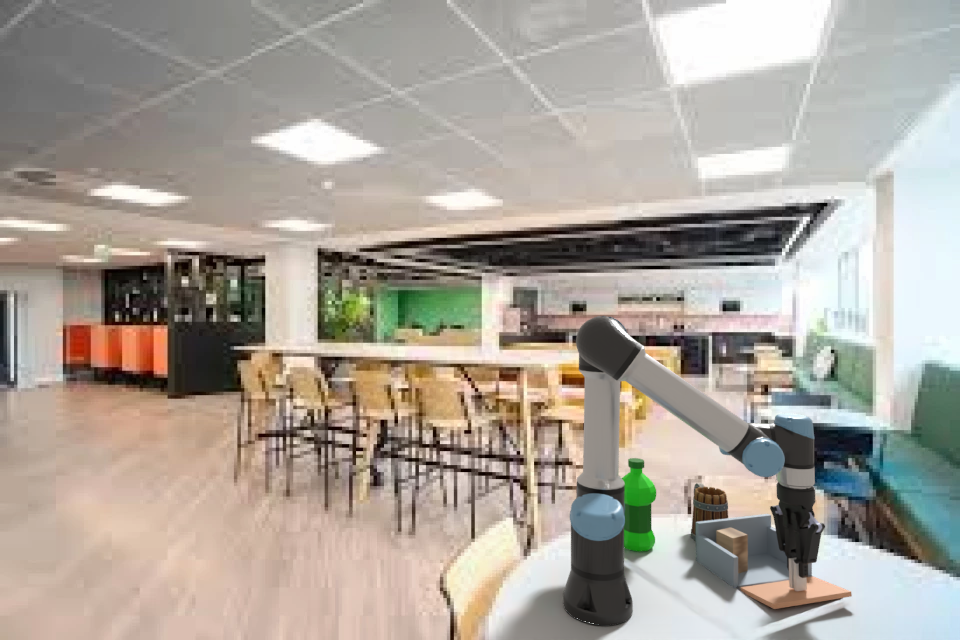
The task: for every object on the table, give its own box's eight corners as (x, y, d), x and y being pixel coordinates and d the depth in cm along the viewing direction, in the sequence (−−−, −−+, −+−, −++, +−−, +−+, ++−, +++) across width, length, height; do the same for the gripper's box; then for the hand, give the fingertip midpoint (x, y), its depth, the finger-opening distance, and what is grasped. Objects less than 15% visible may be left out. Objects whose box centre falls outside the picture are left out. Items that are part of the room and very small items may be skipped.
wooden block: (733, 575, 129) (733, 538, 129) (716, 566, 134) (716, 530, 133) (747, 570, 131) (747, 534, 131) (730, 562, 136) (730, 527, 135)
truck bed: (733, 594, 123) (733, 544, 123) (695, 566, 137) (695, 521, 137) (811, 582, 128) (811, 534, 128) (767, 556, 142) (767, 513, 142)
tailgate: (737, 590, 123) (774, 609, 112) (737, 585, 123) (773, 603, 112) (810, 579, 128) (851, 596, 117) (809, 574, 128) (851, 591, 117)
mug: (738, 552, 145) (737, 497, 144) (699, 552, 145) (698, 497, 145) (713, 529, 160) (713, 479, 160) (678, 529, 160) (678, 479, 160)
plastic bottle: (651, 543, 151) (651, 455, 150) (659, 560, 140) (658, 466, 140) (615, 541, 152) (615, 454, 152) (620, 558, 142) (619, 465, 141)
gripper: (835, 491, 114) (838, 601, 114) (785, 473, 127) (787, 572, 127) (806, 494, 112) (809, 606, 112) (758, 476, 125) (761, 576, 125)
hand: (798, 588), depth 119 cm, fingers closed
